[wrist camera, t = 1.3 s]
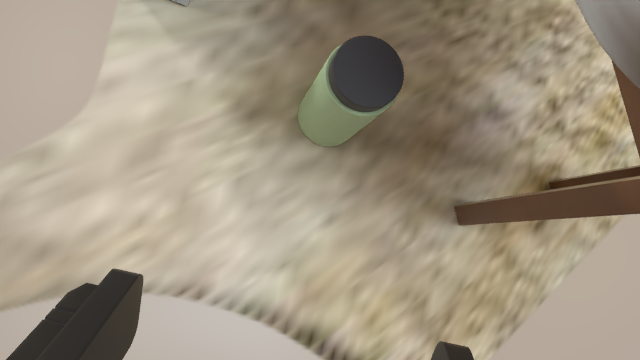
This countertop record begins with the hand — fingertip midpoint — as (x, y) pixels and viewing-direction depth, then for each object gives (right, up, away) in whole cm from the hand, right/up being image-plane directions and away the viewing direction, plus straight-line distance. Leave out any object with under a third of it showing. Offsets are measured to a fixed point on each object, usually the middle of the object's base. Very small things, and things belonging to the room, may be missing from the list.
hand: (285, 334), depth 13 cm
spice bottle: (+1, +9, +23) cm, 24 cm away
